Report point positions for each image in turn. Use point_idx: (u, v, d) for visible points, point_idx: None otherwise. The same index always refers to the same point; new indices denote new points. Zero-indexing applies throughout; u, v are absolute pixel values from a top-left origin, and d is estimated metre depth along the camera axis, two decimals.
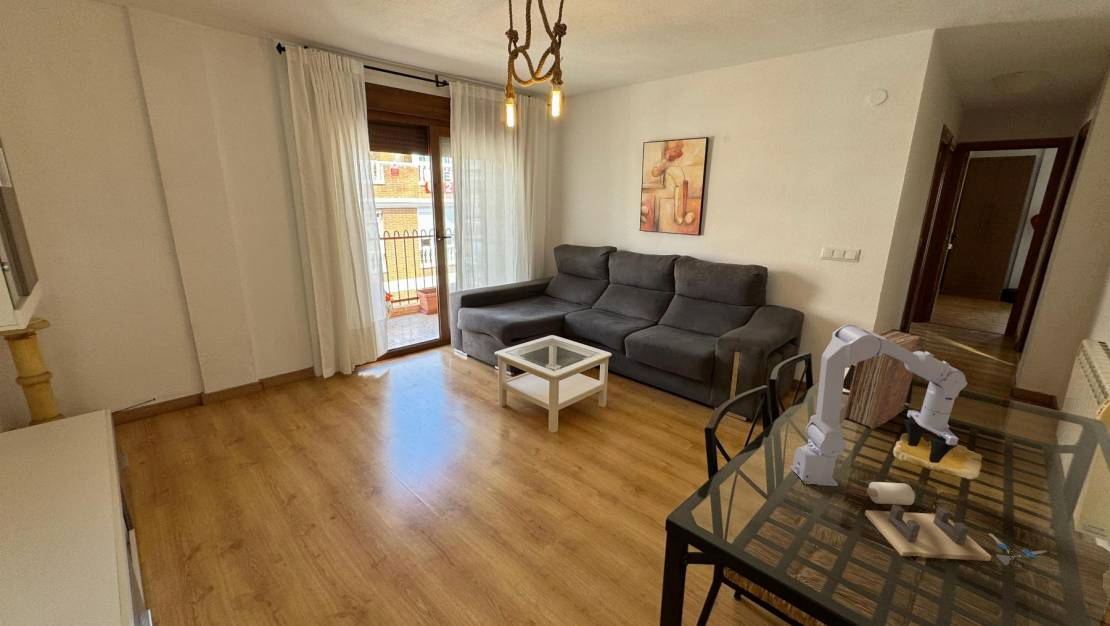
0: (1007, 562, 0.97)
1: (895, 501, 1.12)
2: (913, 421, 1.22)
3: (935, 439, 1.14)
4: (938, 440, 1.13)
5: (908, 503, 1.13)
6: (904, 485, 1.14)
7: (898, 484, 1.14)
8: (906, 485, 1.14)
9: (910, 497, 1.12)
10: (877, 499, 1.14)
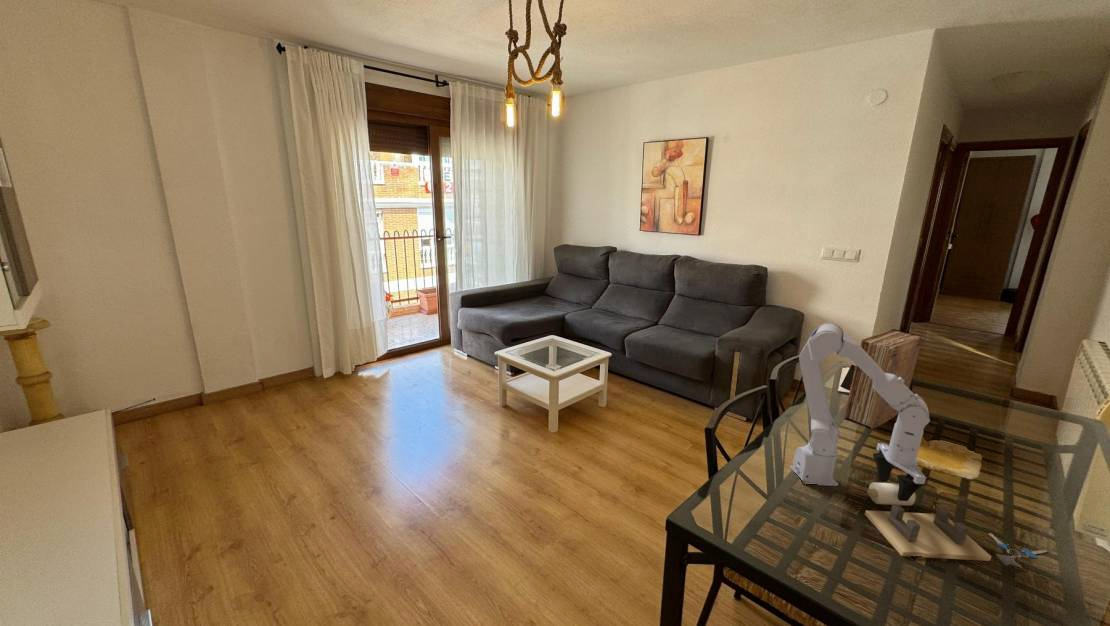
0: (1007, 562, 0.97)
1: (895, 502, 1.12)
2: (882, 455, 1.17)
3: (902, 477, 1.08)
4: (906, 478, 1.08)
5: (908, 504, 1.12)
6: None
7: None
8: None
9: (911, 498, 1.12)
10: (877, 499, 1.14)
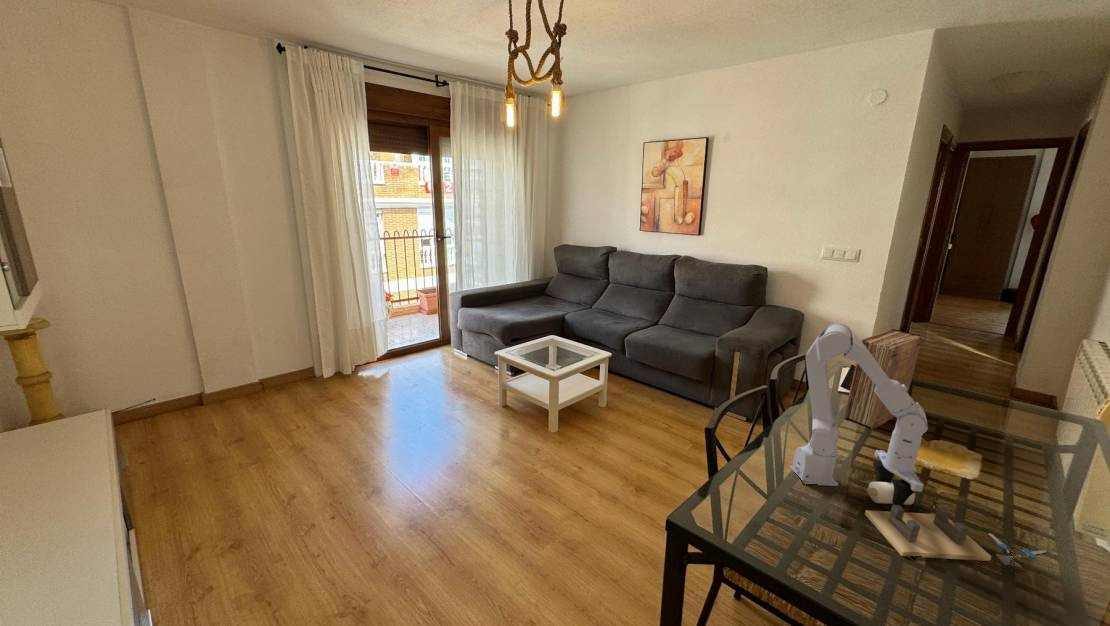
0: (1007, 562, 0.97)
1: None
2: (882, 464, 1.17)
3: (897, 482, 1.10)
4: (900, 483, 1.09)
5: (908, 503, 1.13)
6: None
7: None
8: None
9: (910, 497, 1.12)
10: (877, 498, 1.14)
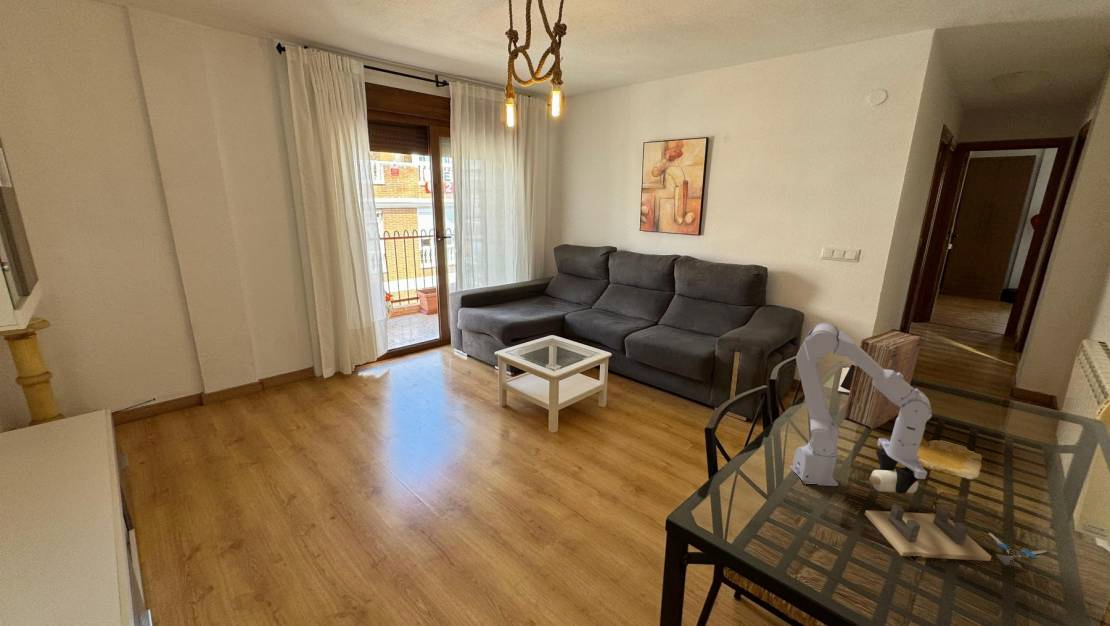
0: (1007, 562, 0.97)
1: None
2: (885, 452, 1.16)
3: (901, 469, 1.09)
4: (904, 470, 1.08)
5: (911, 491, 1.12)
6: None
7: None
8: None
9: (913, 485, 1.11)
10: (880, 486, 1.13)
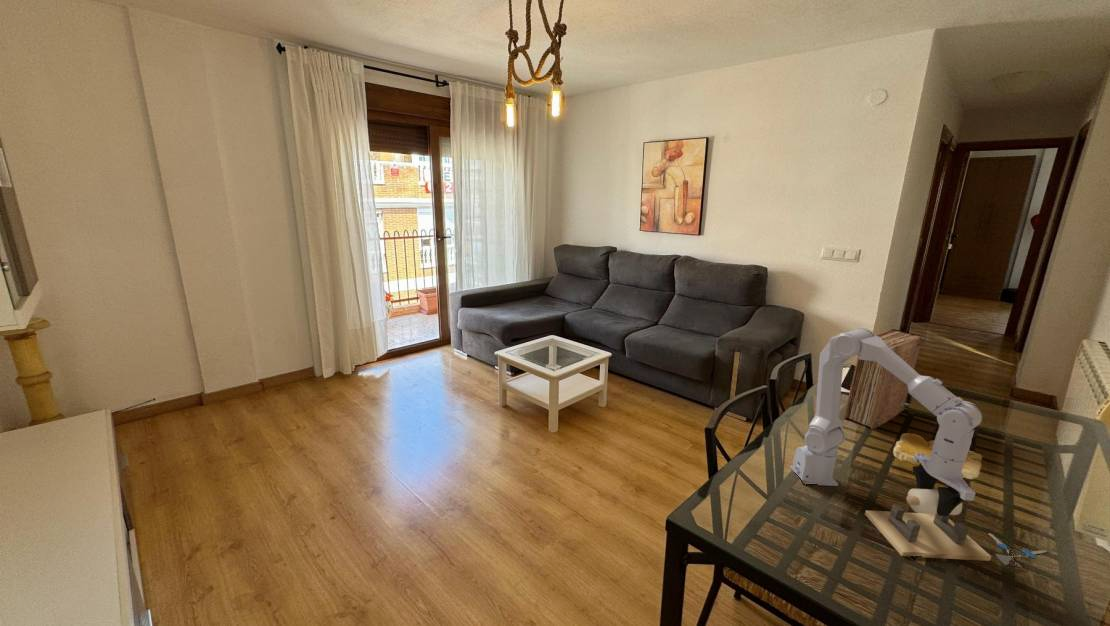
0: (1007, 562, 0.97)
1: None
2: (923, 469, 1.03)
3: (944, 489, 0.96)
4: (947, 491, 0.96)
5: (954, 513, 0.99)
6: None
7: None
8: None
9: (957, 506, 0.99)
10: (918, 508, 1.01)
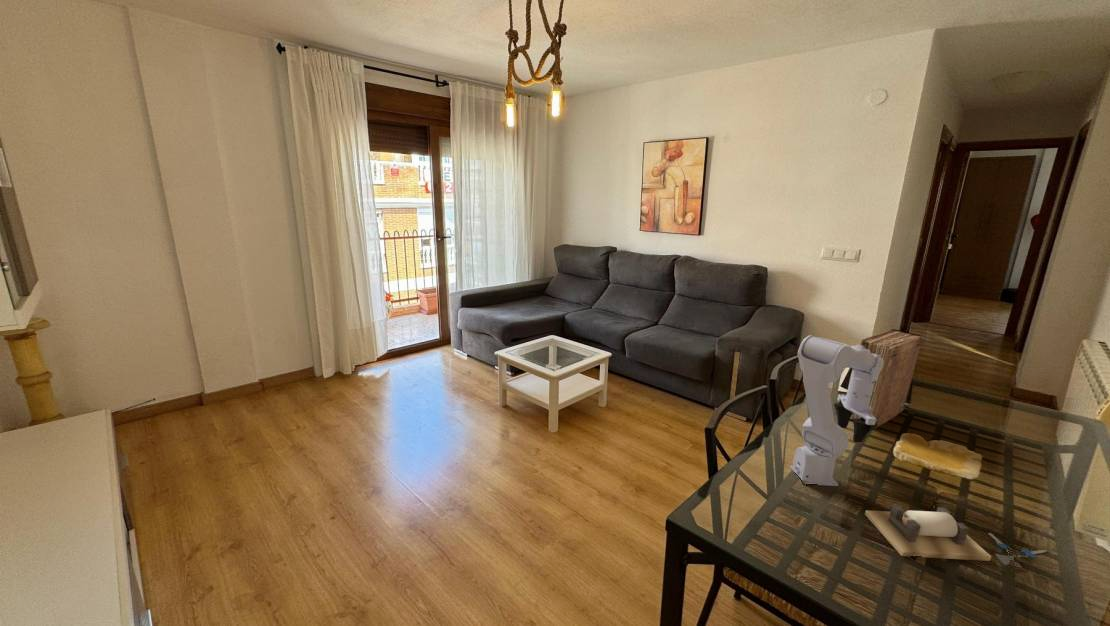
0: (1007, 562, 0.97)
1: (931, 535, 1.01)
2: (842, 404, 1.32)
3: (857, 420, 1.23)
4: (859, 421, 1.22)
5: None
6: (950, 521, 1.00)
7: (943, 519, 1.00)
8: (952, 521, 1.00)
9: (951, 534, 1.00)
10: None
